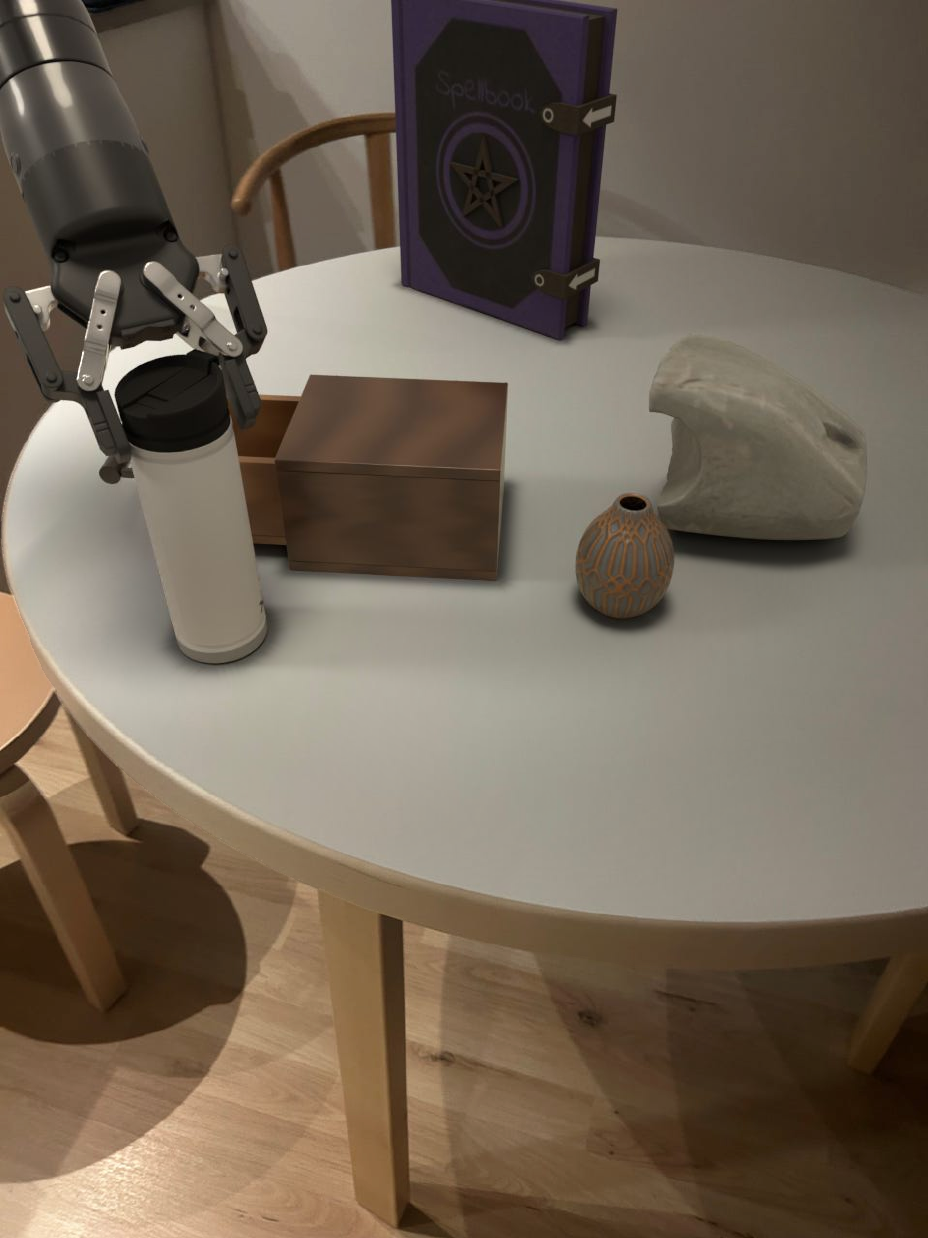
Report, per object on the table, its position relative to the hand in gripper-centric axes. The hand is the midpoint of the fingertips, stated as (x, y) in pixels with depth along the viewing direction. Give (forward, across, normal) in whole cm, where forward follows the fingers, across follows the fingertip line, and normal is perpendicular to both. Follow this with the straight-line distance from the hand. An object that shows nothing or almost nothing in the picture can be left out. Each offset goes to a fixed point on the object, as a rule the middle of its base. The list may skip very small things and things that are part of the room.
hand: (188, 440), depth 56 cm
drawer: (+1, -7, -21) cm, 22 cm away
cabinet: (+7, -17, -16) cm, 25 cm away
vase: (+19, -26, -5) cm, 33 cm away
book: (-16, -46, -40) cm, 63 cm away
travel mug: (+11, 0, -13) cm, 17 cm away
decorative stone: (+16, -41, -7) cm, 45 cm away
